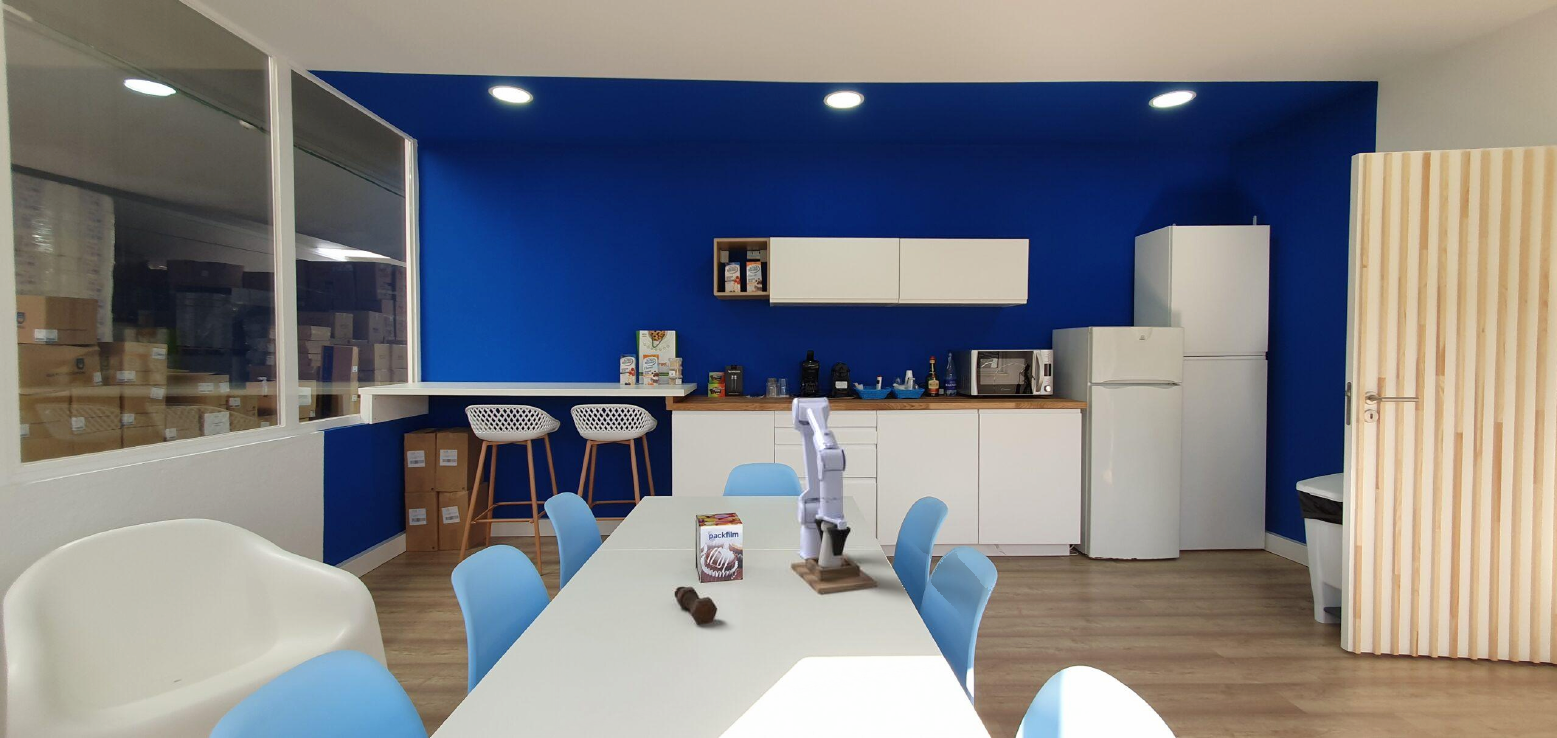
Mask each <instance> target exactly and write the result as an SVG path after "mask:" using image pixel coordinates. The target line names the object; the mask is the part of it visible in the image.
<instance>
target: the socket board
mask: <svg viewBox="0 0 1557 738" xmlns="http://www.w3.org/2000/svg"><path fill="white" fill-rule="evenodd" d="M841 561H842V565H841V567H834V568H825V569H823V568H821V567H820V566H819V564H818V562H819V557H813V558H806V560H805V561H801V562H793V563H791V564H790V568H791V569H792V570H793V571H794V572H795V573H796V574H797V575H798V576H799V577H800V578H801V579H802V580H803V581H805V583H806V584H807V585H808V586H810V588H812V590H814V591H815V592H816V594H818V595H819V594H827V593H836V592H844V591H851V590H860V589H868V588H875V587H877V588H878V584H877V583H878V582H877V580H876V579H874V578H873V577H871V576H870V575H869V574H867V573H866V572H865V571H864V570H861V567H860V565H859V564H857V563H856V562H854V561H853V560H852V559H851V558H849V557H848V556H847V555H845V554H844V553H843V554H842V555H841Z"/></svg>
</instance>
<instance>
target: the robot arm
mask: <svg viewBox="0 0 1557 738" xmlns="http://www.w3.org/2000/svg"><path fill="white" fill-rule="evenodd" d="M830 407H831V406H830V402H829V399H828V398H827V397H813V398H811V397H808V398H807V397H806V398H799V397H795V398H794V399H793V400H792V403H791V413H792V416H791V417H792V425H793V428H794V430H796V431H798V432H799V434H800V438H801V443H802V453H803V456H802V457H803V463H804V464H803V465H804V474H805V487H806V490H805V491H804V492H802V493H801V494H800V495H799V496H798V499H797V518H798V522H799V523H800V525H802V526H801V528H800V534H799V535H800V550H798V551H796V552H797V554H798V555H799V556H800V557H801V558H803V560H805V561H806V558H813V557H819V556H820V550H821V545H822V539H823V533H824V531H823V530H822V529H821V524H822V522H823V521H829V522H833V523H834V527H827V531H828V533H829V535H830V539H831V544H832V552H833V555H834V556H841V555H842V554H844V549H845V544H846V541H847V538H848V536H849V534H850V533H851V531H852V530H851V527H850V526H847V525H848V521H847V520H846V517H845V514H844V478H843V477H844V472H845V471H846V469H847V458H846V456H847V455H846V453H845V449H844V448H843V447H842V446H839V445H838V441H837V439H836V436H835V433H834V432H833V431H832V430H831V429H829V427H828V424H827V423H828V420H829V417H830V413H831V412H830V411H831V408H830Z"/></svg>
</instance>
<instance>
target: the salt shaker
mask: <svg viewBox="0 0 1557 738" xmlns="http://www.w3.org/2000/svg"><path fill="white" fill-rule="evenodd" d="M827 527H834V523H833V522H829V521H823V522H822V524H821V529H822V530H823V531H824V533H823V539H822V545H821V550H820V556H819V562H818V564H819V566H820V567H821V568H823V569H825V568H834V567H841V565H842V561H841V556H834V555H833V552H832V544H831V539H830V535H829V533H828V531H827Z"/></svg>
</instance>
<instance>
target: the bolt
mask: <svg viewBox="0 0 1557 738" xmlns="http://www.w3.org/2000/svg"><path fill="white" fill-rule="evenodd" d="M674 598H675V599H676V602H677V603H678V605H679V606H680V607H681V609H682V610H689V614H690V616H691V617H692V618H693V620H694V622H695V623H696V624H697V625H705V624H709V623H712V622H713V620H714V619H715V617H716V615H717V613H718V608H717V606H716V604H715V603H714V600H713V599H712V598H710V597H709V596H706V597H700V596H699V594H698V593H697V591H696V590H695V588H694V587H693V586H679V587H678V586H677V587H676V589H675V591H674ZM711 621H712V622H711Z"/></svg>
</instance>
